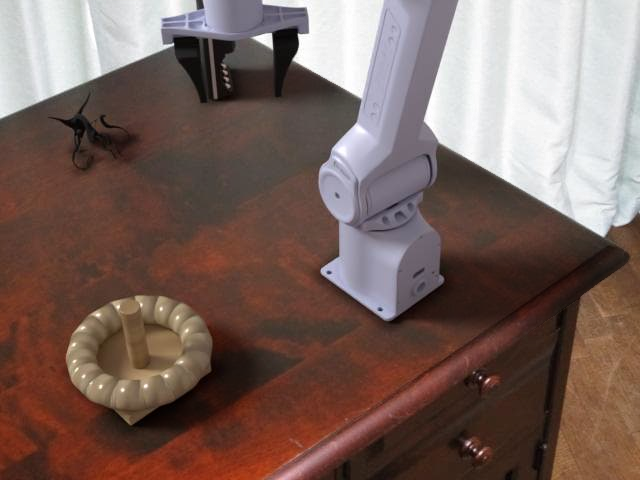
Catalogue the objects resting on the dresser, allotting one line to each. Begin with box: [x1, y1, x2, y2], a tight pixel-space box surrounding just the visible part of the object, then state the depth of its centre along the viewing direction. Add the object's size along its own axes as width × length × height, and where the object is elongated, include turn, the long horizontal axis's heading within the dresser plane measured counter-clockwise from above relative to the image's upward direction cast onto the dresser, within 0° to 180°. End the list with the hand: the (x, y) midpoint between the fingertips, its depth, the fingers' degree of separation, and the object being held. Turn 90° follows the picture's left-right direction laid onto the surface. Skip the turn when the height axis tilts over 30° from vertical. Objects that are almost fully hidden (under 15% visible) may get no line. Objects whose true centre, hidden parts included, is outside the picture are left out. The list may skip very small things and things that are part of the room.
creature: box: [47, 91, 130, 170], centre depth 127 cm, size 8×5×8 cm
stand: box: [96, 300, 212, 426], centre depth 101 cm, size 9×9×8 cm
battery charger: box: [195, 0, 237, 100], centre depth 133 cm, size 7×4×11 cm, turn 10°
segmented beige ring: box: [65, 295, 214, 411], centre depth 102 cm, size 13×13×3 cm
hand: (240, 94), depth 119 cm, fingers open, 7 cm apart
